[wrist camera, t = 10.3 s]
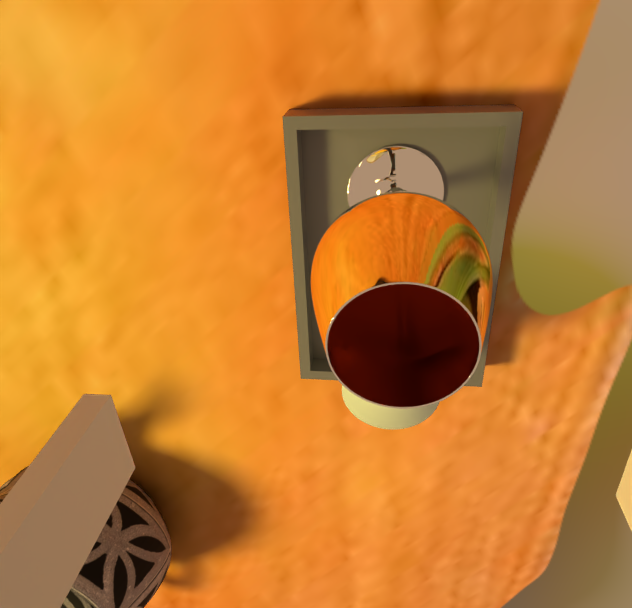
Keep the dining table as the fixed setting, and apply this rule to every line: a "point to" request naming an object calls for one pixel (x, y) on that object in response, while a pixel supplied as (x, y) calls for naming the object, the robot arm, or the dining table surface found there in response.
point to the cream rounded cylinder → (386, 413)
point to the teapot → (121, 554)
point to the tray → (381, 131)
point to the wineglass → (401, 285)
